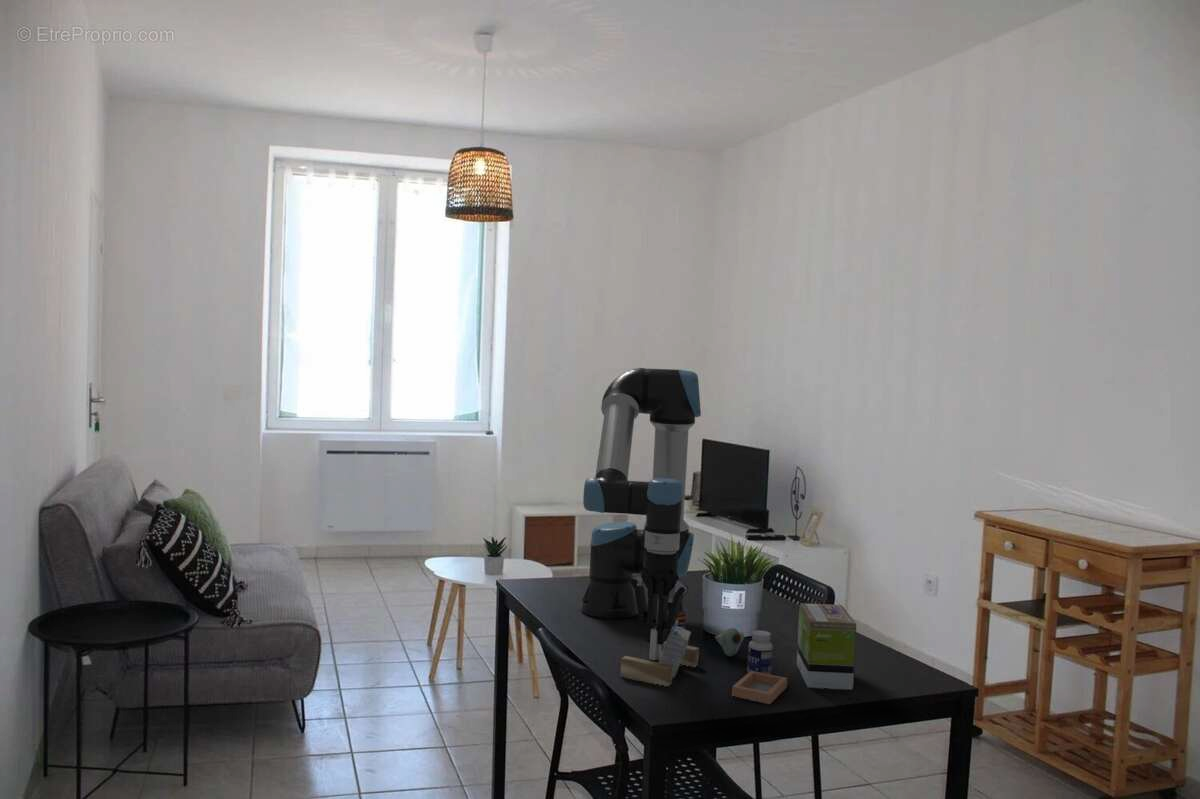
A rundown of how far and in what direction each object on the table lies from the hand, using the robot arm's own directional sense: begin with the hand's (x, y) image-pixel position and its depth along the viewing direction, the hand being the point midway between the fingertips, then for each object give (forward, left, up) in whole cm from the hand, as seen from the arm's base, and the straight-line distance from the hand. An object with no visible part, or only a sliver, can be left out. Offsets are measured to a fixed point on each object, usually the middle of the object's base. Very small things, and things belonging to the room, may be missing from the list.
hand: (654, 657), depth 219 cm
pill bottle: (-12, +20, -3) cm, 24 cm away
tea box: (-17, +33, -3) cm, 37 cm away
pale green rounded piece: (-19, +11, -3) cm, 22 cm away
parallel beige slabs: (0, +1, -3) cm, 3 cm away
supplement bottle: (-17, -3, -3) cm, 18 cm away
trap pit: (0, +24, -3) cm, 24 cm away
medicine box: (-1, +3, -2) cm, 4 cm away
